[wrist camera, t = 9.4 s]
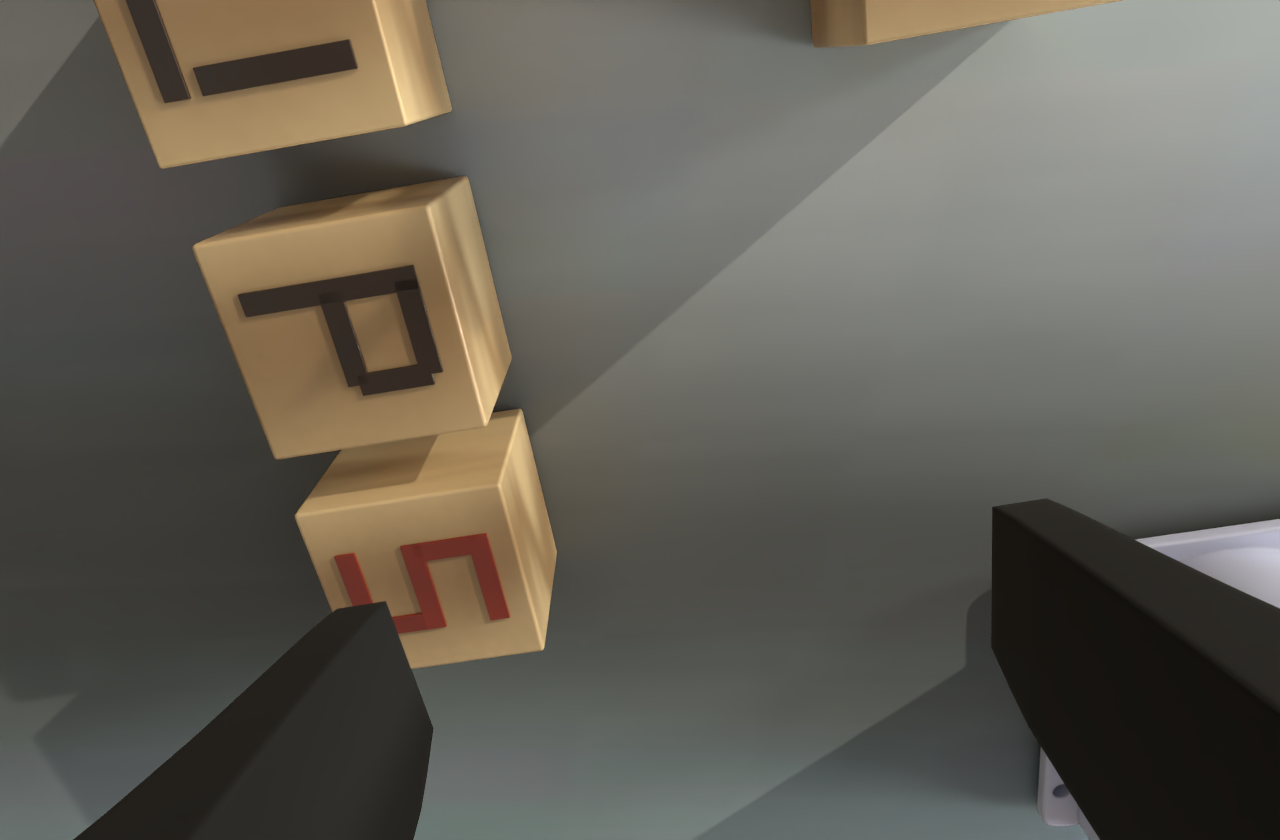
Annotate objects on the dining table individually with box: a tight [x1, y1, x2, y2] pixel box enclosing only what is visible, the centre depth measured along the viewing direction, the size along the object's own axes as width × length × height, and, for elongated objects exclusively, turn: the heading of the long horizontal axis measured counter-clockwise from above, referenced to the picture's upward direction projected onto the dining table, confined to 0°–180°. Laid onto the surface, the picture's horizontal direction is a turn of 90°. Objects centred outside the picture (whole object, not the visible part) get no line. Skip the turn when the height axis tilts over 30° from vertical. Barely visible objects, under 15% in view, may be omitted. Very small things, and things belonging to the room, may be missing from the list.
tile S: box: [295, 409, 557, 669], centre depth 17 cm, size 4×4×4 cm
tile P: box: [193, 176, 512, 459], centre depth 15 cm, size 4×4×4 cm
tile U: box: [93, 0, 452, 169], centre depth 13 cm, size 4×4×4 cm
